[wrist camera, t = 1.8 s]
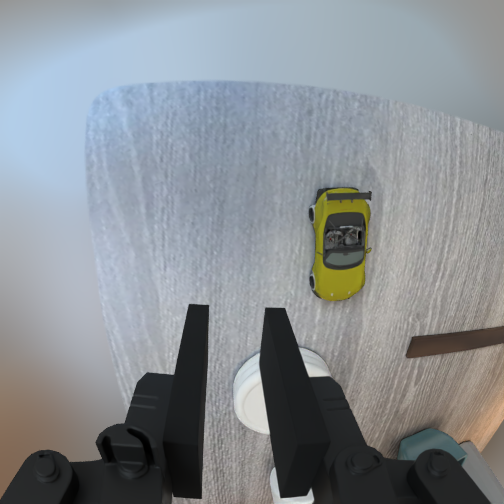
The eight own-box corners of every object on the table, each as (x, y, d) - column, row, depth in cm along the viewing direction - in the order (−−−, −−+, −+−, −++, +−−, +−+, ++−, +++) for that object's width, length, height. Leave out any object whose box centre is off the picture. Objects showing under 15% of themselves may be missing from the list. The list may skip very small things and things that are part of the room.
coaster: (311, 416, 33) (317, 438, 30) (225, 410, 32) (226, 433, 29) (341, 348, 30) (352, 369, 27) (243, 337, 29) (245, 360, 26)
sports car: (307, 299, 28) (315, 316, 26) (307, 186, 25) (317, 191, 22) (359, 294, 29) (372, 309, 26) (365, 185, 26) (381, 190, 23)
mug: (328, 445, 36) (352, 518, 24) (325, 481, 39) (343, 542, 27) (266, 457, 35) (277, 534, 24) (272, 490, 39) (282, 554, 27)
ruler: (412, 336, 31) (414, 338, 30) (521, 323, 33) (523, 324, 33) (405, 356, 32) (407, 358, 31) (515, 338, 34) (517, 340, 33)
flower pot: (442, 413, 37) (470, 454, 28) (432, 445, 39) (454, 482, 31) (391, 435, 36) (414, 481, 28) (385, 465, 39) (404, 506, 31)
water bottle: (477, 440, 42) (533, 524, 18) (448, 466, 44) (496, 551, 20) (461, 433, 40) (524, 531, 16) (429, 462, 41) (481, 561, 18)
